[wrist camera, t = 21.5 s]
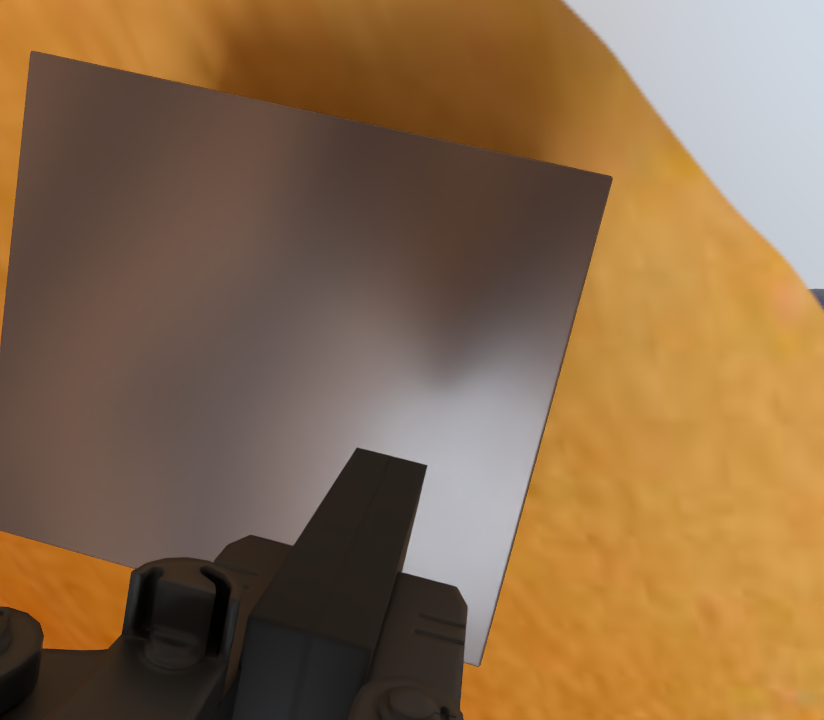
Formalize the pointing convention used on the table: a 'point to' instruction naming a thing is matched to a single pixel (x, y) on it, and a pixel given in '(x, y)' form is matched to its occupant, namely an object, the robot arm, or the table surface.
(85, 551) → the lid
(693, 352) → the table surface
